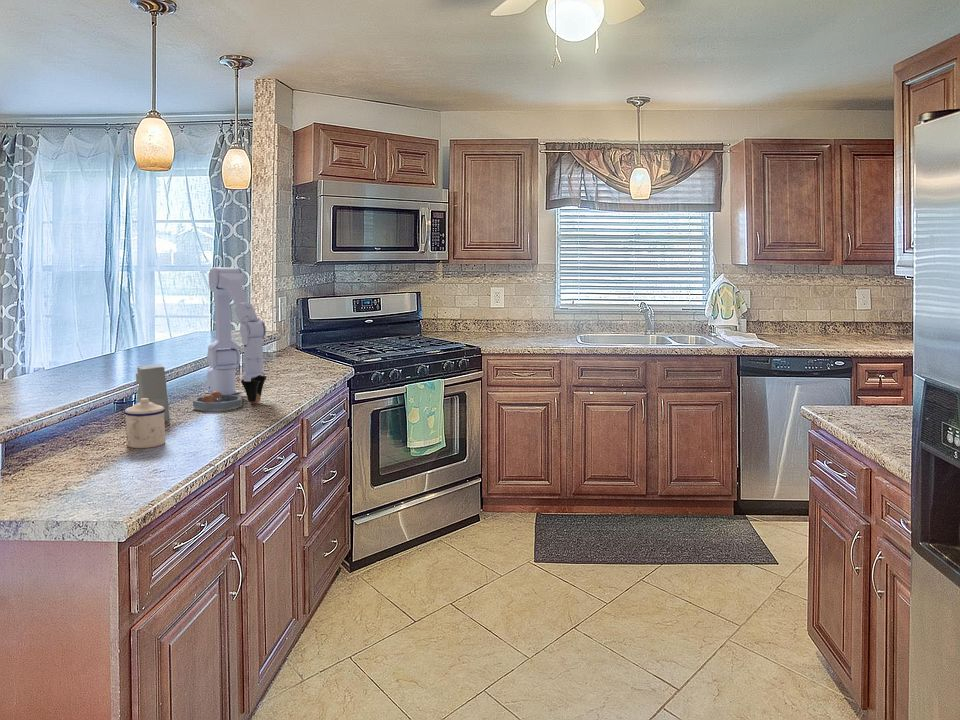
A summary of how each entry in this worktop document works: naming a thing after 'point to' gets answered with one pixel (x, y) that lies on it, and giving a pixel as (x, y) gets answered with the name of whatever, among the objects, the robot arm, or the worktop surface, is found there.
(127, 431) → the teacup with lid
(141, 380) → the skincare box
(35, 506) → the worktop surface
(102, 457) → the worktop surface
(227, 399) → the groove tray
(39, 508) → the worktop surface
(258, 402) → the bead
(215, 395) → the bead
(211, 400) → the bead seated
